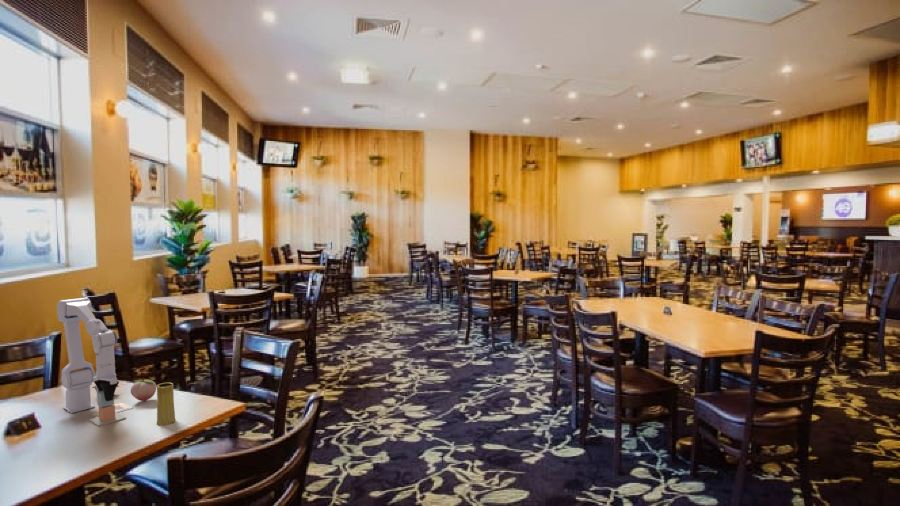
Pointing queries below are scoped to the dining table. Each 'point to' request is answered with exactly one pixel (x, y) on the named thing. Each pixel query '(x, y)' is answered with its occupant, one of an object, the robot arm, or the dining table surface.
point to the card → (121, 407)
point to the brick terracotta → (107, 412)
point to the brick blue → (103, 400)
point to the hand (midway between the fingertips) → (106, 399)
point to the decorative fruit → (143, 389)
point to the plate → (101, 423)
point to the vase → (165, 404)
